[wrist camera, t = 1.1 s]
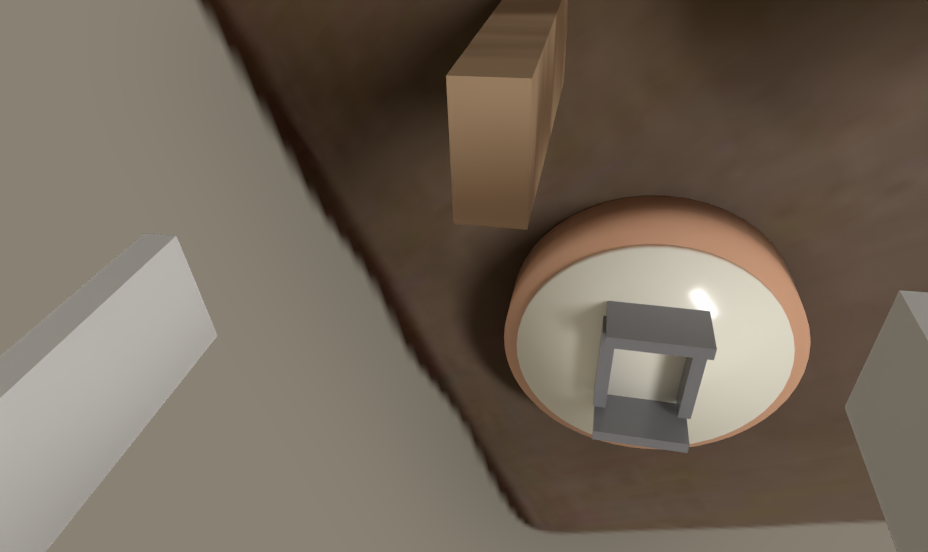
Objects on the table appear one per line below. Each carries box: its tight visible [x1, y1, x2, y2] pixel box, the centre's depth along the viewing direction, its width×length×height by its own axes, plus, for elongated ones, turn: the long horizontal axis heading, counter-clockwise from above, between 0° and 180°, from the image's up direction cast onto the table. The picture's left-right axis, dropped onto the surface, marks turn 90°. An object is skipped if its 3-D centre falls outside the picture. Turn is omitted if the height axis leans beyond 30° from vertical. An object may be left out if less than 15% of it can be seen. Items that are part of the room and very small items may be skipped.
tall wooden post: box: [446, 0, 569, 230], centre depth 20 cm, size 4×2×12 cm, turn 2°
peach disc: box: [504, 196, 810, 453], centre depth 29 cm, size 14×14×6 cm
